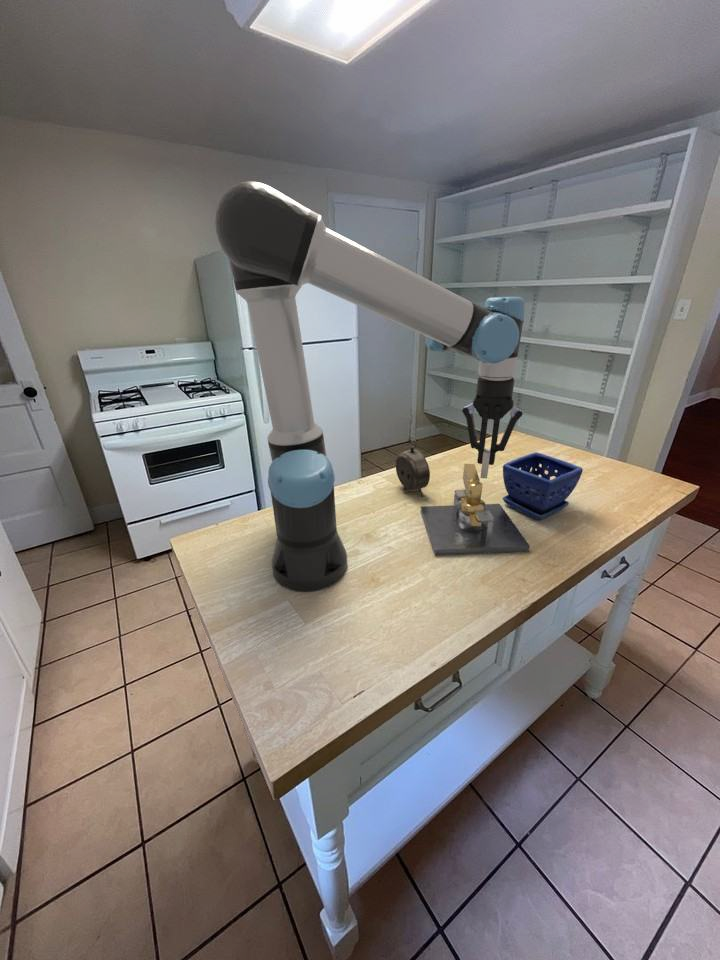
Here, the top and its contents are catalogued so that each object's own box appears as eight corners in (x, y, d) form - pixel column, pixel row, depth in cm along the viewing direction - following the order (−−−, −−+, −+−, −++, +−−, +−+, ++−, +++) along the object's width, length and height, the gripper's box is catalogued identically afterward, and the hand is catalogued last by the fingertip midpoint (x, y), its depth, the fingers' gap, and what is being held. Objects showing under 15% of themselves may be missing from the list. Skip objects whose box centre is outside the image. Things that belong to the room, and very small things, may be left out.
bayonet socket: (434, 555, 81) (436, 526, 77) (420, 511, 97) (421, 486, 94) (528, 552, 81) (534, 523, 78) (498, 508, 97) (502, 483, 94)
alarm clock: (429, 497, 103) (433, 440, 96) (413, 502, 101) (415, 444, 94) (407, 481, 112) (409, 429, 105) (391, 486, 110) (392, 432, 103)
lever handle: (488, 526, 80) (492, 498, 78) (463, 525, 81) (466, 497, 78) (477, 488, 96) (480, 464, 93) (456, 487, 97) (458, 463, 94)
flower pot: (541, 528, 89) (551, 482, 84) (495, 504, 99) (501, 462, 94) (574, 511, 95) (585, 467, 90) (527, 490, 105) (535, 450, 100)
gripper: (528, 374, 83) (513, 472, 93) (467, 372, 87) (458, 466, 97) (529, 381, 76) (512, 486, 87) (462, 379, 81) (454, 479, 91)
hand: (484, 475), depth 92 cm, fingers closed
